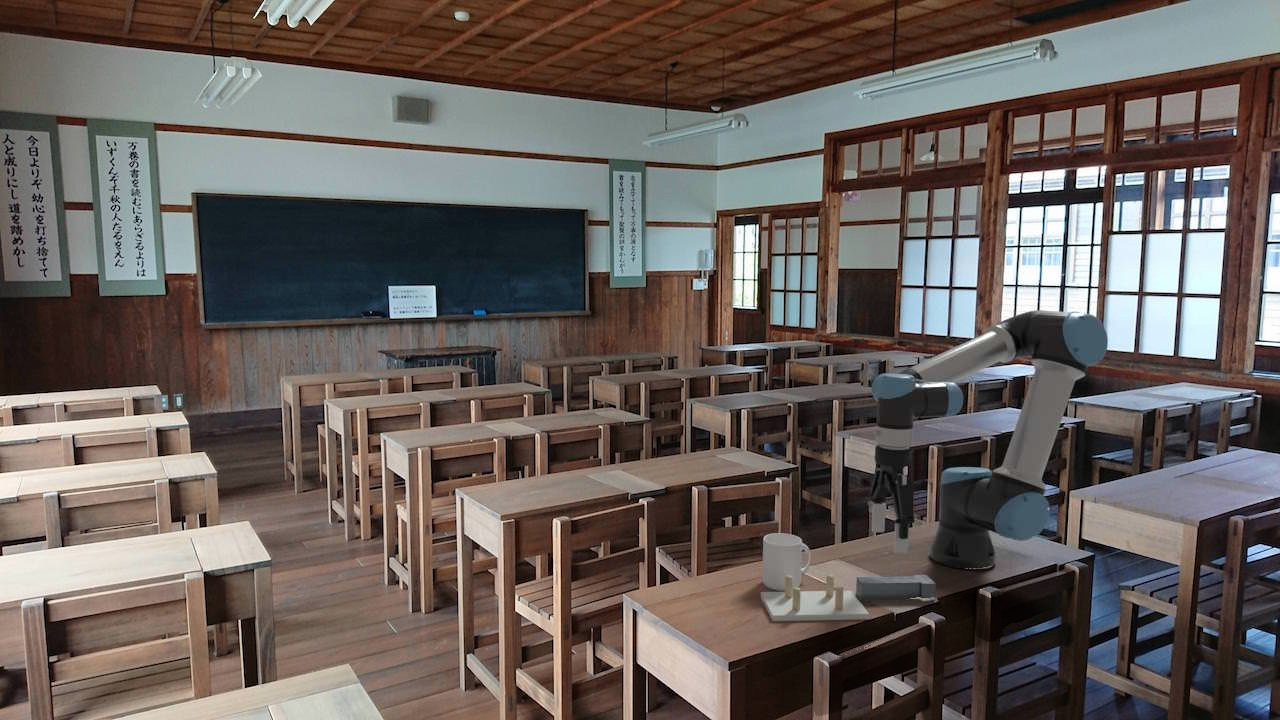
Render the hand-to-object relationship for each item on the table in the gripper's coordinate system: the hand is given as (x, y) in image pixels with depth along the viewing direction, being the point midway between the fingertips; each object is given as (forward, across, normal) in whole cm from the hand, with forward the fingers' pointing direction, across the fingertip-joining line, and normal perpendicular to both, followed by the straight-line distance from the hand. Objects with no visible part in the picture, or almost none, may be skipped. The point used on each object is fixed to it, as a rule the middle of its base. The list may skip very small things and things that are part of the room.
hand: (888, 541), depth 174 cm
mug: (+13, -9, -20) cm, 25 cm away
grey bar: (+13, 0, +2) cm, 13 cm away
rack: (+13, +5, -18) cm, 22 cm away
